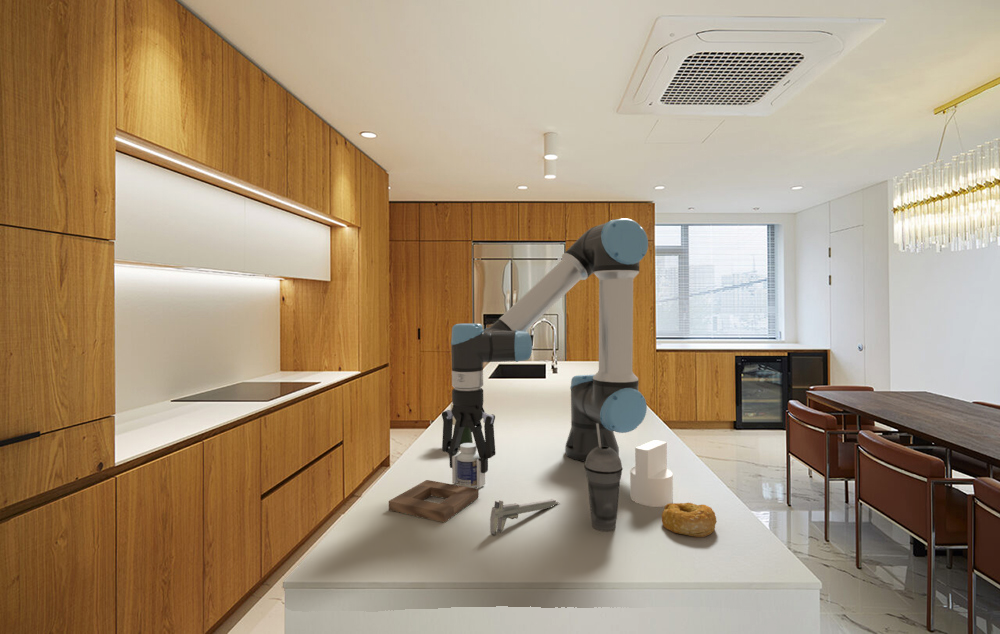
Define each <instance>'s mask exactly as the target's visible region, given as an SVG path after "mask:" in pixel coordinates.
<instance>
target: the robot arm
mask: <svg viewBox="0 0 1000 634" xmlns="http://www.w3.org/2000/svg"><path fill="white" fill-rule="evenodd" d="M648 239H649V238H648V236H647V233H646V231H645V229H644V228H643V227H642V226H641V225H640V224H639V223H638V222H637V221H635V220H633V219H630V218H618V219H611V220H609V221H608V222H605V223H602V224H598V225H596V226H593V227H590V228H589V229H588V230H587V231H584V233H583V234H582V235H581V236H579V238H578V239H577V240H576V241H574V243H572V245H571V246H570V247H569V248H568V249H567V250H566V251H564V252H563V254H562V255H561V260H560V261H559V262H558V263H557V264H556V265H555V266H554V267H553V268H551V269H550V270H549V271H548V273H546V274H545V275H544V276H543V277H542V278H541V279H540V280H538V282H536V284H535V285H533V286H532V287H531V288H530V289H529V290H528V291H527V292H526V293H525V294H524V295H523V296H522V297H520V299H518V300H517V302H515V303H514V304H513V305H512V306H511V307H510V308H509V309H507V310H506V311H505V313H503V314H502V315H501V316H500V317H499V318H498V319H497V320H496V321H495V322H494V323H493V324H492V325H490V326H489V327H486V328H483V327H484V326H483V324H482V323H456V324H454V325H453V326H452V327H451V340H450V341H451V342H450V346H451V347H450V348H451V349H450V350H451V386H452V387H453V389H452V390H451V403H452V404H453V408H452V410H450V409H447V410H445V411H442V412H441V417H442V420H443V421H442V422H443V424H442V444H441V451H442V452H443V453H447V454H448V457H449V468H450V469H451V474H452V483H451V484H458V481H457V456H458V455H459V454H460V453H459V452H460V450H459V449H460V441H461V438H462V434H463V430H464V428H465V427H468V428H470V430H471V432H472V437H473V439H474V444H476V447H477V453H478V454H479V459H477V487H476V488H477V489H480V488H481V487H483V486H485V485H486V473H487V472H488V470H489V459H491V458H492V457H494V456H496V442H495V441H496V439H495V430H494V429H495V428H494V424H495V420H496V415H495V414H489V413H486V411H485V409H484V389H483V386H484V363H499V362H500V363H501V362H504V363H505V362H515V363H518V362H522V361H524V362H525V361H528V360H529V359H530V358H531V356H532V352H533V341H532V336H531V334H530V333H529V331H528V330H529V329H530V328H531V327H532V326H533V325H534V324H535V323H537V321H538V320H539V319H540V318H542V317H543V315H545V314H546V312H548V311H549V310H550V309H551V308H552V307H553V306H554V305H556V303H557V302H558V301H560V300H561V299H562V298H563V296H566V294H567V293H568V292H569V291H570V290H571V289H572V288H573V287H574V286H576V284H577V283H578V282H579V281H581V280H582V281H585V280H587V279H589V277H591V275H593V274H594V276H596V277H597V279H598V280H599V281H598V283H599V284H598V307H599V308H598V371H597V372H596V373H595V374H582V375H581V374H580V375H574V376H572V378H571V379H570V380H571V381H570V411H571V412H570V413H571V414H570V416H571V417H570V420H571V421H570V423H571V424H570V425H571V426H570V431H569V433H568V436H567V439H566V442H565V447H564V451H565V452H564V453H565V455H566V456H567V457H568V458H570V459H573V460H576V461H579V462H580V461H581V462H586V458H587V456H588V454H589V453H590V451H591V450H592V449H594V448H595V447H598V446H599V444H598V435H597V426H596V423H599V431H600V439H601V446H607V447H610V448H612V449H613V450H614V451H616V453H617V454H618V456H619V457H620V453H619V452H620V449H619V448H620V447H619V445H618V441H617V439H616V438H617V437H616V435H615V433H619V434H624V433H629V432H630V433H631V432H632V431H634V430H636V429H637V428H638V426H640V425H641V424H642V423H643V421H644V419H645V417H646V415H647V409H648V407H647V401H646V398H645V397H644V395H643V393H641V391H639V377H638V376H637V375H636V374H635V373H634V372H633V363H634V362H633V351H634V350H633V349H634V348H633V347H634V345H633V344H634V333H633V331H634V329H633V328H634V279H636V277H637V276H638V275H639V273H640V261H641V260H643V259H644V257H645V256H646V255H647V252H648V249H649V240H648ZM453 416H454V418H455V419H456V423H455V425H453ZM482 419H483V420H482ZM481 421H482V422H483V423H484V425H483V426H482V422H481ZM453 427H454V428H453ZM483 427H484V433H483V430H482V429H483ZM454 429H455V430H454ZM453 431H454V433H453Z"/></svg>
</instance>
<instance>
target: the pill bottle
mask: <svg viewBox="0 0 1000 634" xmlns="http://www.w3.org/2000/svg"><path fill="white" fill-rule="evenodd" d="M459 452H460V453H459V455H458V456H457V481H458V482H457V485H458V486H464V487H470V488H475V489H476V488H478V487H477V459H479V454H478V450H477V447H476V443H475V442H473V443H463V444H461V445H459Z"/></svg>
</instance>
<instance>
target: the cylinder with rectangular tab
mask: <svg viewBox="0 0 1000 634" xmlns="http://www.w3.org/2000/svg"><path fill="white" fill-rule="evenodd" d="M667 443H668V442H666V441H664V440H657V439H653V440H651V441H648V442H646V443H643V444H642V445H641V444H640V445H639V446H636V447H635V448H634V449H635V451H634V452H635V453H634V454H635V460H634V463H635V465H634V466H633V467H631V468H630V472H629V474H630V478H629V479H630V483H629V484H630V488H629V489H630V490H629V491H630V494H629V495H630V499H631V500H632V501H633V502H634V501H635V503H636V504H638V503H639V504H638V505H642V506H646V507H653V508H655V507H657V508H660V507H661V508H662V507H663V508H664V507H665V506H666V505H667V504H670V503H674V502H673V501H674V499H673V498H674V491H673V490H674V473H673V472H672V471H671V469H668V467H667V465H668V463H667V462H668V458H667V457H668V455H667V454H668V451H667V450H668V447H667V446H668V444H667Z"/></svg>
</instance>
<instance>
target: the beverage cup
mask: <svg viewBox="0 0 1000 634" xmlns="http://www.w3.org/2000/svg"><path fill="white" fill-rule="evenodd" d="M596 426H597V435H598V444H599V446H598V447H595V448H594V449H592V450H591V451H590V453H589V454H588V456H587V458H586V461H584V463H585V464H584V469H585V475H586V479H587V490H588V499H589V511H590V519H591V526H592V528H593V529H594V530H597V531H600V532H610V531H614V530H615V529H616V527H617V526H616V524H617V519H618V507H619V506H618V505H619V495H620V485H621V484H620V482H621V478H622V473H623V469H624V468H623V464H622V460H621V458H620V455H619V456H618V454H617V453H616V451H614V450H613V449H612V448H610V447H607V446H601V439H600V431H599V423H596Z"/></svg>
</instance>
